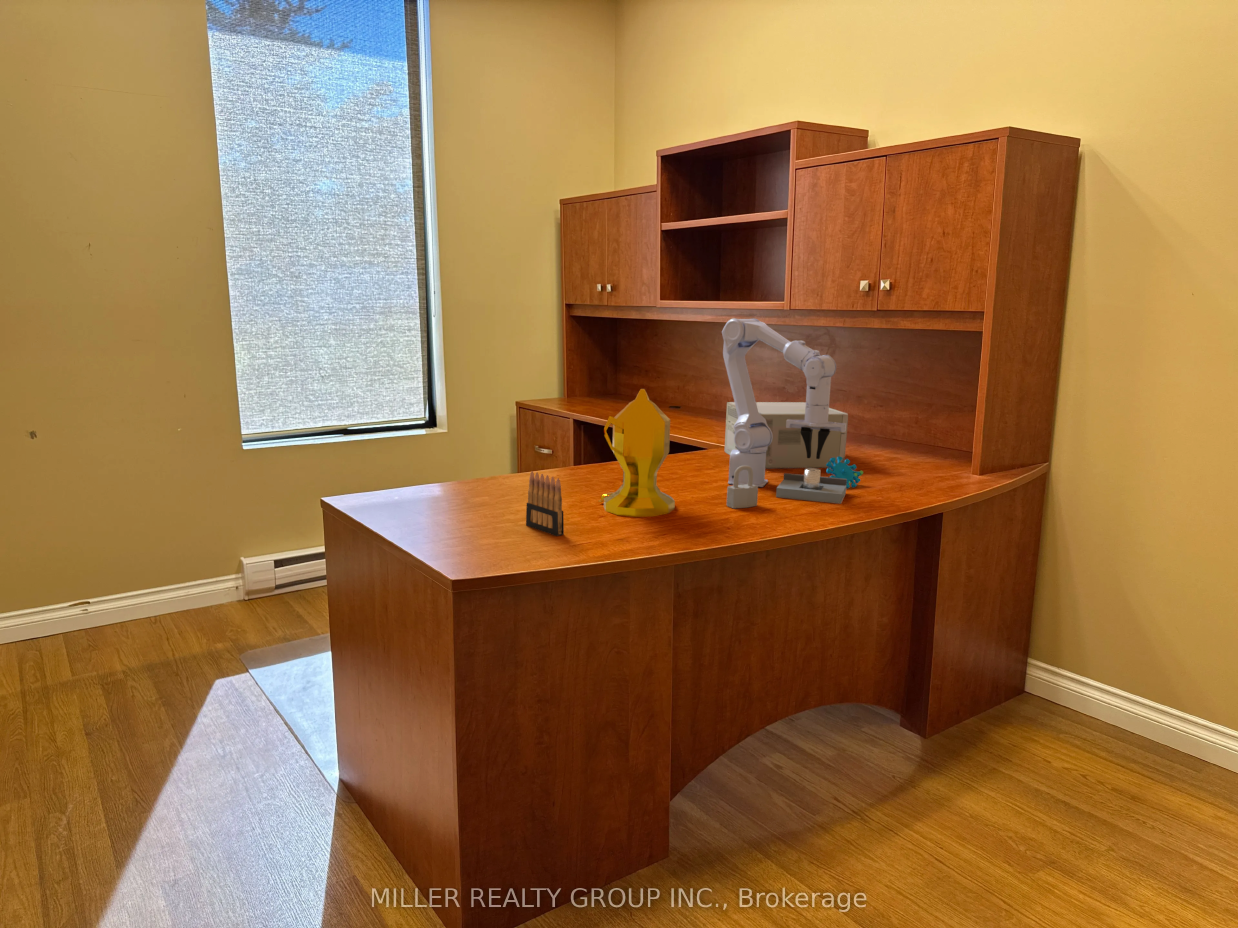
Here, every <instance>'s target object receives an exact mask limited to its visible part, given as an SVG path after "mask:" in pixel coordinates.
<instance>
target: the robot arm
mask: <svg viewBox="0 0 1238 928" xmlns="http://www.w3.org/2000/svg"><path fill="white" fill-rule="evenodd" d="M721 334H722V339H723V346H722V347H723V349H722V357H723V361H724V366H725V369H726V374H727V378H728V381H729V385H730V390H731V394H732V397H733V402H735V406H736V410H737V414H738V420H737V421H736V423H735V424H734V430H735V435H734V442H735V445H736V447H737V448H738V450H732V451H731V455H729V462H728V463H729V465H728V482H727V484H729V485H733V483H734V473H735V470H736V469H737V468H738V467H740V466H744V465H746V466H749V467H751V469H752V471H753V484H752V485H755V486H758V488H763V487H764V486H765V485H766V484H767V483H768V482H769V480H768V479H766V469H765V465H766V451H767V448H768V446H769V445H770V444H771V442H772V439H773V434H772V431H771V429H770V428H769V427H768V425H767V423H766V419H765V418H764V417H763V416H761V415H760V414H759V413H758V409H757V404H756V402H757V401H756V397H755V394H754V389H753V386H752V380H751V377H750V372H749V369H748V365H747V361H746V360H747V359H746V355H747V353H748V352H749V351H750V350H751V348H753V347H754V345H756V343H758V342H759V341H760V342H763V343H764V344H766V345H768V346H769V347H772V348H773V349H775V350H777V351H779V352H781V353H782V354H783V359H784V360H785V361H786V362H788V363H789V364H791V365H793V366H794V367H796V368H797V369H799V370H800V371H803V374H804V377H805V379H806V391H805V392H806V394H805V402H806V406H805V420H791V419H787V420H786V428H801V431H800V432H801V435H802V438H803V440H804V443H805V447H806V452H807V458H810V457H811V441H812V432H813V429H816V430H820V431H819V432H818V448H817V455H816V459H820V455H821V451H822V448H823V445H824V443H825V441H826V439H827V437H828V435H829V433H830V431H840V432H845V431H846V423H836V422H828V413H829V408H830V399H831V398H830V397H831V388H832V387H831V384H832V377H833V376H834V375H835V374H836V371H837V363H836V360H834V358H833V357H832V356H831V355H829V354H824V355H821V354H820V352H821V351H819V350H818V349H817V350H816V349H815V350H814V349H813V348H810V346H807V345H806V341H804V340H792V341H790V340H789V339H787V338H786V337H784V336H783V335H781V334H780V333H778V332H777V331H776V330H774V329H773V328H771V327H770V326H769V325H767V324H766V322H763V321H760V320H759V319H757V318H735V317H733V318H731V319H728V320H727V322H726V323H725V325H724V326H723V328H722V331H721ZM749 426H751V427H749ZM807 426H813V427H807ZM820 427H823V428H820ZM742 484H743V485H744V484H748V471H747V470H742V471H740V473H739V478H738V485H742Z"/></svg>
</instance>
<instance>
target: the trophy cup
mask: <svg viewBox="0 0 1238 928" xmlns="http://www.w3.org/2000/svg"><path fill="white" fill-rule="evenodd" d="M610 425H612V442H611V439H610V436H609V435H608V433H607V430H608V428H609V426H610ZM670 435H671V419H670V418H669V417H668V416H667V415H666V414H665V413H664V411H663V410H661V409H660V408H659V406H658V405H657V404H656V403H655V402H653V401H652V400H650V398H649V395H648V393H647V391H646V389H645V388H640V390H639V391H638V393H637V394H636V397H635V399H633V400H631V401H630V402H628V404H626V406H625V407H624V408H623V409H621V410H620V411H619V412H618V413H617V414H616V415H615V416H614V417H613V416H611V415H609V416H608V419H607V421H606V423H605V425H604V428H603V436H604V438H605V440H606V442H607V444H608V446H609V448H610V450H611V451H612V452H613V455H614V457H615V458H616V460H617V462H618V463H619V466H620V468H621V469H622V472H623V475H622V477H623V478H622V484H621V485H620V487H619V488H618V489H617V490H616V491H614V492H613V491H610V492H607V493H604V494H601V496H600V497H601V498H600V500H598V501H597V502H598V503H599V502H600V503H601V502H603V508H604V511H605V512H607V513H610V514H612V515H616V516H621V517H631V518H646V517H647V518H648V517H649V518H650V517H657V516H662V515H667V514H670V513H671V512H672V511H674V510H675V505H676V503H675V499H674V498H673V497H672V496H671V495H669V494H667V493H665V492H662V491H661V490H660V488H659V487H658V485H657V478H658V477H657V476H658V471H659V470H660V469H661V466H662V465H663V463H664V461H665V460H666V458H667V457H668V455H669V453H670V440H671V437H670Z"/></svg>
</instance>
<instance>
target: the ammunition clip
mask: <svg viewBox="0 0 1238 928" xmlns="http://www.w3.org/2000/svg"><path fill="white" fill-rule="evenodd" d="M528 482H529V483H528V490H527V494H528V495H527V502H526V508H525V509H526V510H525V511H526V512H525V514H526V516H525V517H526V518H525V521H526V522H525V526H527V527H529V528H533V529H535V530H538V531H540V532H543V533H546V534H549V535H552V536H555V537H559V536H563V535H564V534H565V532H564V529H565V526H564V523H565V521H564V519H565V518H564V510H563V498H562V485H561V480H560V478H557V479H556V481H555V477H554V476H552V477H551V479H550V476H549V475H548V474H546V477H545V475H544V474H543V473H541V475H539V472H536V473H534V471H533V470H531V471H530V474H529V481H528Z"/></svg>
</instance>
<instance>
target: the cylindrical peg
mask: <svg viewBox="0 0 1238 928" xmlns="http://www.w3.org/2000/svg"><path fill="white" fill-rule="evenodd" d="M803 469H804V471H803V475H804V483H803V489H813V490H819V486H820V476H821V472H822V471H821V468H803Z"/></svg>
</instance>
